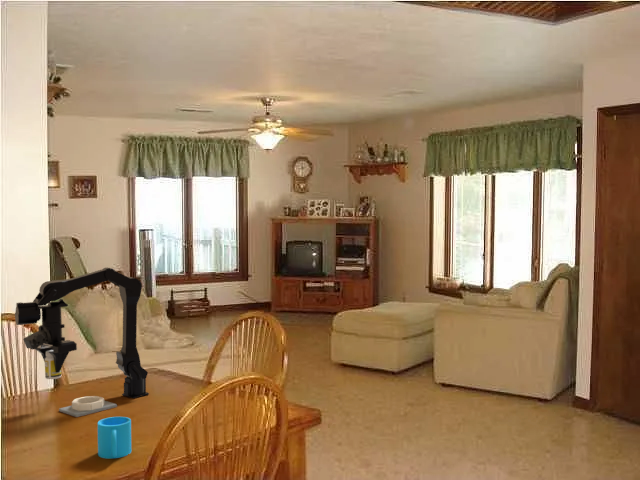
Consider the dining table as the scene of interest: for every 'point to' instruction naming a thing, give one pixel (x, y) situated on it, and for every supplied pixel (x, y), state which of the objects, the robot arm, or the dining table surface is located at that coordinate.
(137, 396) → the robot arm
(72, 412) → the holder board
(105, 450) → the mug
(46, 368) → the supplement bottle
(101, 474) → the dining table surface
